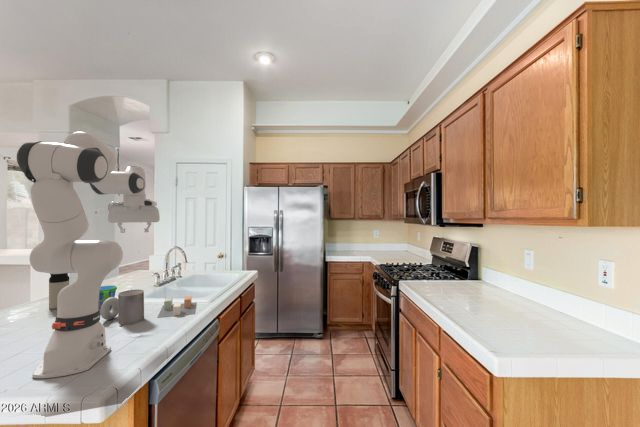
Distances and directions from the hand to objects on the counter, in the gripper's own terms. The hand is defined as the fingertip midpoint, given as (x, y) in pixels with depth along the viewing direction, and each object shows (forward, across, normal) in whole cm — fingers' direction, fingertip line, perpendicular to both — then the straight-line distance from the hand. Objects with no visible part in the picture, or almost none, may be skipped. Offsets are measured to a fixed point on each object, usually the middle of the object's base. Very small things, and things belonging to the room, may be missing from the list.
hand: (134, 232), depth 141 cm
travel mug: (+40, -40, +32) cm, 65 cm away
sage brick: (+38, +13, +7) cm, 41 cm away
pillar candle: (+40, 0, -7) cm, 40 cm away
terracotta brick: (+38, +22, +7) cm, 45 cm away
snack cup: (+40, -18, +23) cm, 49 cm away
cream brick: (+38, +18, -4) cm, 42 cm away
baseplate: (+40, +18, +2) cm, 43 cm away
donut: (+40, -10, +2) cm, 41 cm away
